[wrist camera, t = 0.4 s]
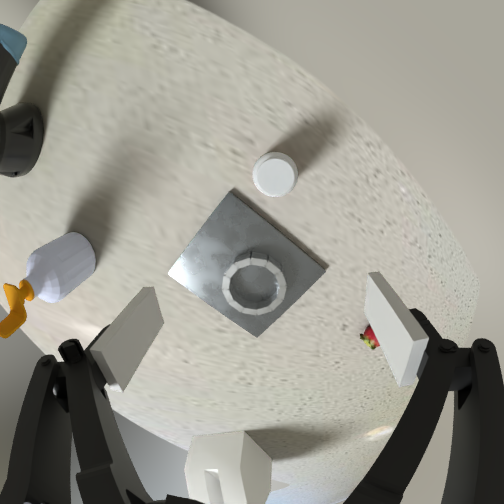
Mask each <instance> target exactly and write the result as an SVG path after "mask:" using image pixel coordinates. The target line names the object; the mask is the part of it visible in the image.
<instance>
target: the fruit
mask: <svg viewBox="0 0 504 504" xmlns="http://www.w3.org/2000/svg"><path fill="white" fill-rule="evenodd" d="M360 339H362V340H363V341H364V342H365V344H366V345H367V346H369V347H370V348H371V349H374V348H376V347H378V346H380V344H379V342H378V340H377V338H376V336H375V333H374V331H373V329H372V327H371V325H370V326H368V327H367V329H366V330H365V332H364V335H363V334H360Z"/></svg>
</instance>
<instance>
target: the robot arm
mask: <svg viewBox="0 0 504 504" xmlns="http://www.w3.org/2000/svg"><path fill="white" fill-rule="evenodd" d="M26 45H27V39H26V37H25V36H24V35H23V34H21V33H20V32H18V31H16V30H14V29H12V28H10V27H8V26H5V25H3V24H0V104H1V102H2V99H3V96H4V94H5V91H6V89H7V86H8V84H9V82H10V79H11V77H12V75H13V73H14V71H15V68H16V66H18V64H19V60H20V58H21V56H22V54H23V52H24V50H25V48H26ZM42 140H43V120H42V116H41V113H40V111H39V109H38V107H37V106H36V105H34V104H32V103H20V104H17V105H14V106H12V107H9V108H7V109H4V110H2V111H0V175H4V176H8V177H19V176H23V175H25V174H27V173H28V172H29V171H30V170H31V169H32V168H33V166H34V165H35V163H36V161H37V159H38V156H39V153H40V150H41V146H42ZM364 313H365V315H366V317H367V319H368V321H369V323H370V325H371V327H372V329H373V331H374V333H375V336H376V338H377V340H378V342H379V344H380V346H381V348H382V350H383V353H384V355H385V357H386V359H387V361H388V364H389V366H390V368H391V370H392V373H393V375H394V377H395V379H396V382H397V384H398V386H399V387H403V386H407V385H411V384H413V383H414V381H415V378H416V375H417V377H418V379H419V382H418V384H417V386H416V388H415V391H414V393H413V395H412V397H411V399H410V401H409V403H408V405H407V407H406V409H405V411H404V413H403V415H402V417H401V419H400V421H399V423H398V425H397V426H396V428H395V430H394V432H393V434H392V435H391V437H390V439H389V440H388V442H387V444H386V445H385V447H384V449H383V450H382V452H381V453H380V455H379V457H378V458H377V460H376V461H375V463H374V464H373V466H372V467H371V468H370V470H369V471H368V473H367V474H366V476H365V477H364V478H363V480H362V481H361V482H360V483H359V484H358V486H357V487H356V488H355V490H354V491H353V492H352V493H351V495H350V496H349V497H348V498H347V499H346V501H345V502H344V503H343V504H400V502H401V500H402V498H403V493H404V491H405V489H406V487H407V486H408V484H409V482H410V480H411V479H412V477H413V475H414V473H415V471H416V469H417V467H418V465H419V463H420V461H421V459H422V457H423V455H424V453H425V451H426V448H427V447H428V444H429V442H430V440H431V438H432V435H433V433H434V430H435V428H436V425H437V423H438V420H439V417H440V415H441V412H442V409H443V406H444V403H445V400H446V397H447V394H448V391H454V421H453V435H452V436H453V437H452V445H451V454H450V461H449V468H448V474H447V480H446V484H445V489H444V494H443V498H442V502H441V504H504V384H503V379H502V374H501V369H500V364H499V360H498V356H497V352H496V348H495V346H494V344H493V343H492V342H491V341H489V340H487V339H483V338H481V339H476V340H475V341H474V342H473V344H472V347H471V348H458V346H457V344H456V343H455V342H453V341H451V340H449V339H442V337H441V336H440V335H439V333H438V332H437V331H436V329H435V328H434V327H433V325H432V324H431V323H430V321H429V320H427V318H426V316H425V315H424V314H423V313H422V312H421V311H419V310H417V309H416V308H414V309H408V308H407V307H406V305H405V304H404V303H403V301H402V300H401V299H400V297H399V296H398V295H397V294H396V292H395V291H394V290H393V288H392V287H391V286H390V285H389V283H388V282H387V281H386V280H385V278H384V277H383V276H382V275H381V273H380V272H371V273H367V286H366V298H365V308H364ZM163 324H164V320H163V317H162V314H161V311H160V307H159V304H158V300H157V297H156V293H155V289H154V287H143V288H142V289H141V291H140V292H139V293H138V294H137V295H136V296H135V297H134V298H133V299H132V301H131V302H130V303H129V304H128V305H127V306H126V307H125V308H124V310H123V311H122V312H121V313H120V314H119V315H118V316H117V318H116V319H115V320H114V321H113V322H112V323H111V324H109V325H108V326H106V327H105V328H103V329H102V330H101V332H100V333H99V334H98V335H97V336H96V337H95V340H93V341H92V342H91V343H90V344H89V346H88V347H87V348H86V349H85V350H83V348H82V346H81V344H80V342H79V340H77V339H69V340H67V341H65V342H63V343H62V344H61V345H60V346H59V348H58V351H59V353H60V355H61V356H62V358H63V360H64V362H57V360H56V358H55V356H54V355H45V356H43V357H41V359H39V361H38V362H37V364H36V367H35V369H34V372H33V375H32V378H31V381H30V383H29V386H28V389H27V392H26V395H25V398H24V402H23V405H22V409H21V412H20V415H19V419H18V423H17V427H16V431H15V435H14V440H13V445H12V450H11V455H10V461H9V468H8V475H7V480H6V482H5V484H4V487H3V490H2V492H1V494H0V504H71V491H70V460H71V459H70V458H71V440H72V432H73V438H74V443H75V447H76V452H77V456H78V460H79V465H80V468H81V472H80V473H77V474H76V481H77V484H78V487H79V491H80V494H81V498H82V501H83V504H205V503H202V502H199V501H197V500H193V499H188V498H182V497H177V496H172V495H168V494H167V497H166V500H157V501H153V500H152V498H151V497H150V496H149V495H148V493H147V492H146V491H145V489H144V487H143V485H142V483H141V481H140V479H139V477H138V475H137V472H136V470H135V468H134V466H133V464H132V461H131V459H130V457H129V454H128V452H127V449H126V447H125V444H124V442H123V439H122V437H121V434H120V432H119V429H118V426H117V423H116V420H115V417H114V414H113V411H112V408H111V405H110V401H109V398H108V395H107V391H106V390H105V388H104V386H105V384H106V383H108V385H109V387H110V388H111V390H113V391H118V392H124V390H125V388H126V387H127V385H128V383H129V381H130V380H131V378H132V376H133V374H134V373H135V371H136V369H137V368H138V366H139V364H140V362H141V361H142V359H143V357H144V356H145V354H146V352H147V351H148V349H149V347H150V346H151V344H152V342H153V341H154V339H155V337H156V336H157V334H158V332H159V331H160V329H161V327H162V326H163Z"/></svg>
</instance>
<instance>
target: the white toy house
mask: <svg viewBox="0 0 504 504" xmlns="http://www.w3.org/2000/svg"><path fill="white" fill-rule="evenodd" d="M184 471H185V477H186V483H187V488H188V493H189V498H190V499H193V500H197V501H199V502H202V503H205V504H265V502H266V500H267V498H268V495H269V493H270V491H271V472H272V458H271V457H269V456H268V455H267V454H266V453H265V452H264V451H263V450H262V449H261V448H260V447H259V446H258V445H257V444H256V443H255V442H254V440H253V439H252V438H251V437H250V436H249V435H248V434H247V433H246V432H245V431H238V432H230V433H222V434H212V435H199V436H193V437H192V441H191V445H190V449H189V453H188V456H187V460H186V464H185V468H184Z"/></svg>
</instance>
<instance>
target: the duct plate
mask: <svg viewBox="0 0 504 504" xmlns="http://www.w3.org/2000/svg"><path fill="white" fill-rule="evenodd" d="M325 272H326V271H325V269H324V268H323V267H322V266H321V265H319V264H318V263H317V262H316V261H315V260H313V259H312V258H311V257H310V256H309V255H308V254H306V253H305V252H304V251H303V250H302V249H300V248H299V247H298V246H297V245H296V244H294V243H293V242H292V241H291V240H290V239H288V238H287V237H286V236H285V235H284V234H282V233H281V232H280V231H279V230H277V229H276V228H275V227H274V226H273V225H271V224H270V223H269V222H268V221H266V220H265V219H264V218H263V217H261V216H260V215H259V214H258V213H257V212H255V211H254V210H253V209H252V208H250V207H249V206H248V205H247V204H245V203H244V202H243V201H242V200H240V199H239V198H238V197H236V196H235V195H234V194H233V193H231V192H230V191H229V192H228V194H227V195H226V196H225V198H224V199H223V200H222V201H221V203H220V204H219V205H218V206H217V208H216V209H215V210H214V212H213V213H212V214H211V216H210V217H209V218H208V219H207V221H206V222H205V223H204V225H203V226H202V227H201V229H200V230H199V231H198V233H197V234H196V235H195V237H194V238H193V239H192V241H191V242H190V243H189V245H188V246H187V248H186V249H185V250H184V252H183V253H182V254H181V256H180V257H179V259H178V260H177V261H176V263H175V264H174V265H173V267H172V268H171V270H170V271H169V273H168V274H169V275H170V276H171V277H173V278H174V279H175V280H177V281H178V282H179V283H181V284H182V285H183V286H185V287H186V288H187V289H189V290H190V291H191V292H193V293H194V294H195V295H197V296H198V297H199V298H201V299H202V300H203V301H205V302H206V303H208V304H209V305H210V306H212V307H213V308H215V309H216V310H217V311H219V312H220V313H222V314H223V315H225V316H226V317H227V318H229V319H230V320H232V321H233V322H235V323H236V324H238V325H239V326H240V327H242V328H243V329H245V330H246V331H248V332H249V333H251V334H252V335H254V336H255V337H258V336H259V335H260V334H262V333H263V332H264V331H265V330H266V329H267V328H268V327H269V326H270V325H271V324H272V323H274V322H275V321H276V320H277V319H278V318H279V317H280V316H281V315H282V314H283V313H284V312H285V311H286V310H287V309H288V308H289V307H290V306H292V305H293V304H294V303H295V302H296V301H297V300H298V299H299V298H300V297H301V296H302V295H303V294H304V293H305V292H306V291H307V290H308V289H309V288H310V287H311V286H312V285H313V284H314V283H315V282H316V281H317V280H318V279H319V278H320V277H321V276H322V275H323V274H324V273H325Z"/></svg>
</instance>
